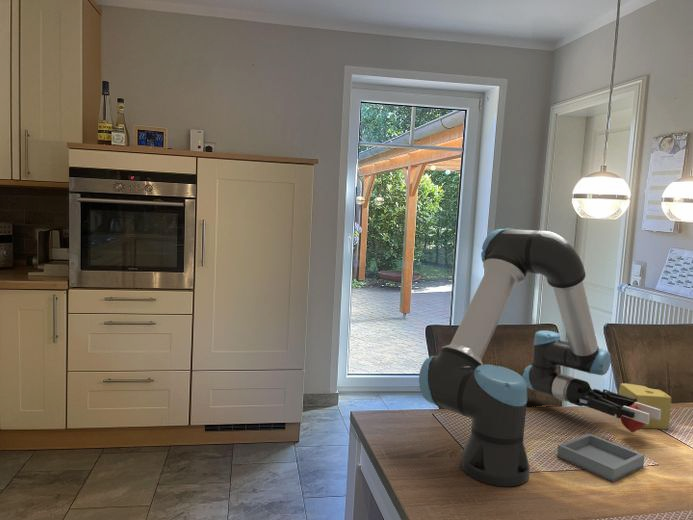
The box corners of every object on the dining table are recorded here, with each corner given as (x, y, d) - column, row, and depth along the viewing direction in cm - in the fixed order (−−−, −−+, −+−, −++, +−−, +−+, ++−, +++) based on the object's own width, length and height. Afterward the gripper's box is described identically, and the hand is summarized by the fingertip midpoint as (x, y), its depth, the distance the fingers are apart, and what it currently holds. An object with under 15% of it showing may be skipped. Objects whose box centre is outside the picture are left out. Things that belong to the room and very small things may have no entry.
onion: (620, 433, 136) (623, 404, 135) (618, 425, 141) (620, 398, 141) (645, 438, 134) (648, 408, 133) (642, 430, 139) (644, 401, 139)
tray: (613, 482, 115) (614, 469, 114) (557, 456, 126) (557, 445, 126) (643, 467, 122) (644, 455, 122) (587, 444, 134) (588, 433, 134)
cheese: (651, 416, 156) (654, 385, 155) (670, 431, 146) (674, 397, 145) (616, 414, 157) (619, 382, 156) (633, 428, 146) (636, 394, 146)
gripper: (587, 397, 158) (669, 424, 139) (552, 407, 147) (635, 437, 128) (590, 373, 157) (671, 397, 138) (554, 382, 146) (638, 408, 127)
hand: (654, 416), depth 133 cm, fingers closed on onion, 6 cm apart
